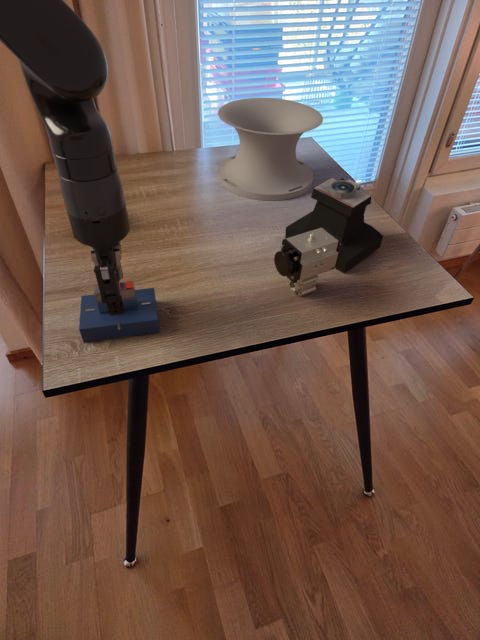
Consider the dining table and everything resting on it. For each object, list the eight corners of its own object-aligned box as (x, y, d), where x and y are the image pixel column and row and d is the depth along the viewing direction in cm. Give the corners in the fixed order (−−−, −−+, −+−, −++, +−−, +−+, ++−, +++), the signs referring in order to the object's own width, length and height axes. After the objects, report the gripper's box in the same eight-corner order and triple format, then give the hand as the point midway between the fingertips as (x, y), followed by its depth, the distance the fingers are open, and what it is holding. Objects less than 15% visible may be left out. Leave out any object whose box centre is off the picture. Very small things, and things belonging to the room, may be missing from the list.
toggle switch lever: (99, 313, 66) (93, 292, 63) (99, 305, 68) (94, 284, 65) (137, 308, 67) (133, 287, 64) (137, 300, 69) (133, 279, 66)
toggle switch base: (83, 347, 65) (78, 333, 63) (85, 304, 72) (81, 290, 70) (160, 337, 67) (158, 323, 65) (155, 296, 74) (153, 282, 72)
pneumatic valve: (269, 291, 77) (276, 235, 68) (319, 273, 81) (331, 218, 73) (286, 309, 73) (295, 253, 65) (337, 289, 78) (352, 234, 69)
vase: (325, 171, 114) (337, 110, 103) (289, 210, 98) (299, 143, 87) (245, 150, 122) (247, 91, 111) (199, 183, 106) (197, 119, 95)
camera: (288, 181, 80) (338, 154, 86) (285, 242, 90) (329, 214, 97) (356, 214, 71) (405, 182, 78) (343, 277, 82) (387, 244, 89)
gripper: (69, 179, 59) (93, 270, 70) (61, 234, 49) (91, 330, 60) (123, 175, 60) (138, 265, 71) (126, 228, 50) (143, 323, 62)
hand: (117, 295), depth 66 cm, fingers open, 8 cm apart
